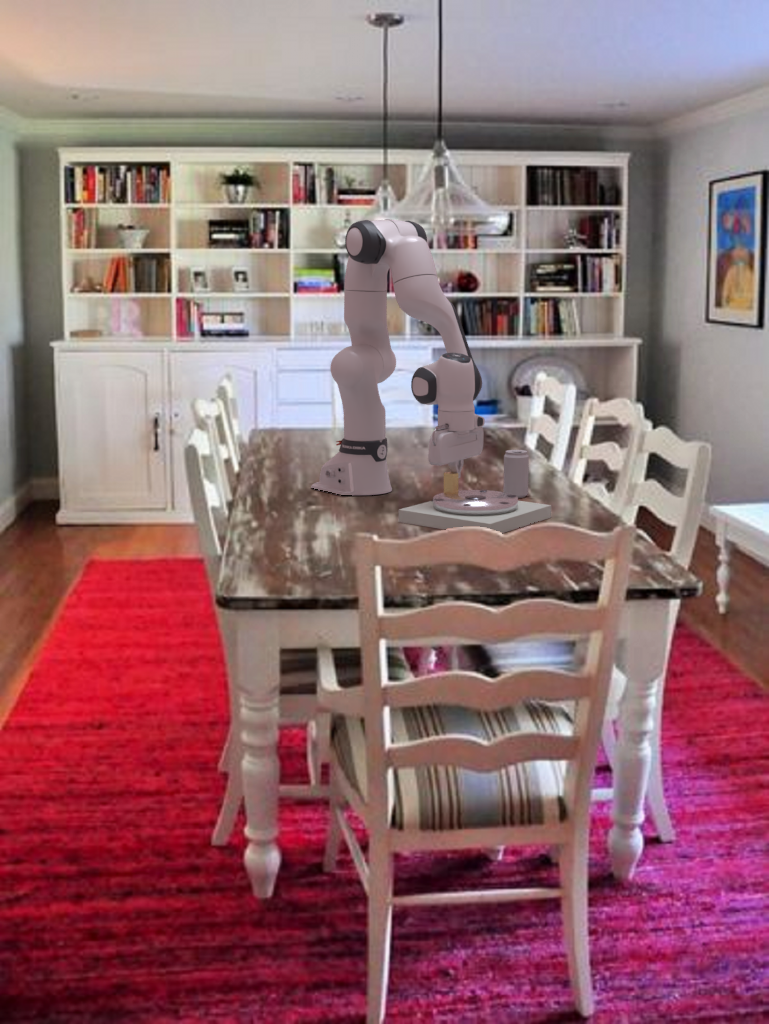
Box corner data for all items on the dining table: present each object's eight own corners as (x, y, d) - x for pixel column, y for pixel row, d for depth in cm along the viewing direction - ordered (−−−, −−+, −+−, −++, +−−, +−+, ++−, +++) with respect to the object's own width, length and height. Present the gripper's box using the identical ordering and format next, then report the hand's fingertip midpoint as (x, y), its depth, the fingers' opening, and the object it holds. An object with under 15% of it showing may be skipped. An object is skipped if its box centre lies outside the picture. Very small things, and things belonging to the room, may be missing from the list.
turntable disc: (446, 517, 275) (447, 486, 274) (423, 500, 294) (423, 471, 293) (530, 512, 280) (530, 482, 278) (501, 496, 299) (502, 468, 297)
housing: (398, 522, 286) (398, 508, 285) (462, 504, 305) (462, 491, 305) (490, 537, 270) (490, 522, 269) (551, 517, 289) (551, 504, 289)
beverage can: (508, 499, 311) (509, 453, 309) (499, 494, 317) (500, 449, 315) (531, 497, 313) (532, 452, 310) (522, 493, 319) (523, 448, 317)
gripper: (444, 428, 280) (444, 486, 283) (488, 417, 296) (487, 473, 299) (421, 426, 283) (421, 484, 286) (465, 416, 300) (465, 471, 303)
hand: (455, 478), depth 293 cm, fingers closed, pressing on turntable disc
